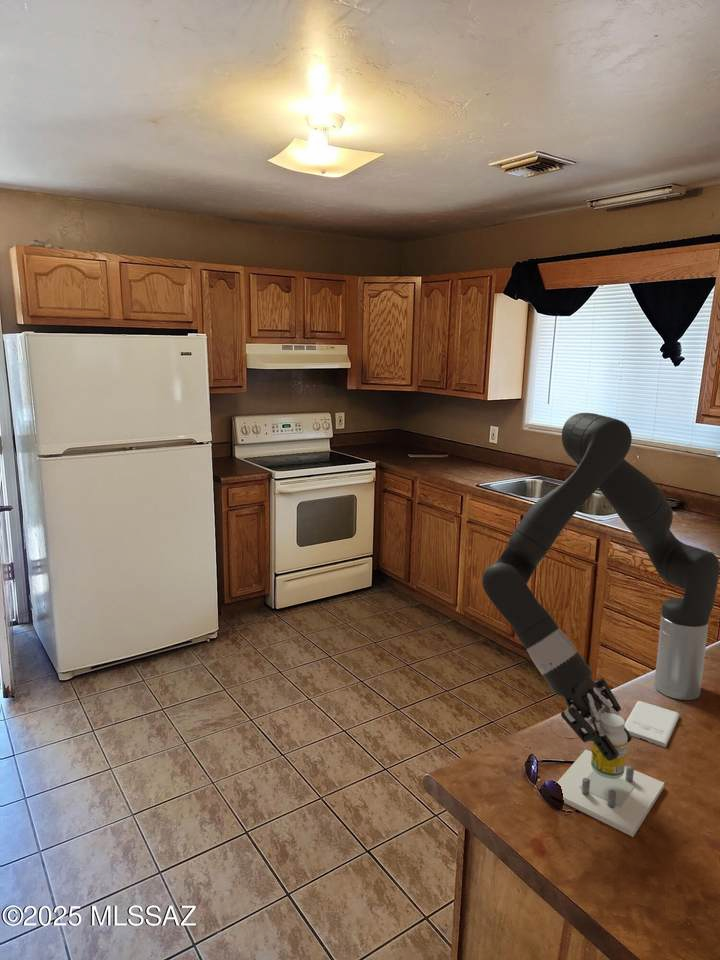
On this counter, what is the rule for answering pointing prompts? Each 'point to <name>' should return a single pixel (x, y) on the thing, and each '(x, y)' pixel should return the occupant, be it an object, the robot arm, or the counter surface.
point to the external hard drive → (651, 723)
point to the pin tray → (610, 794)
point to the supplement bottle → (618, 738)
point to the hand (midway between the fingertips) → (620, 749)
